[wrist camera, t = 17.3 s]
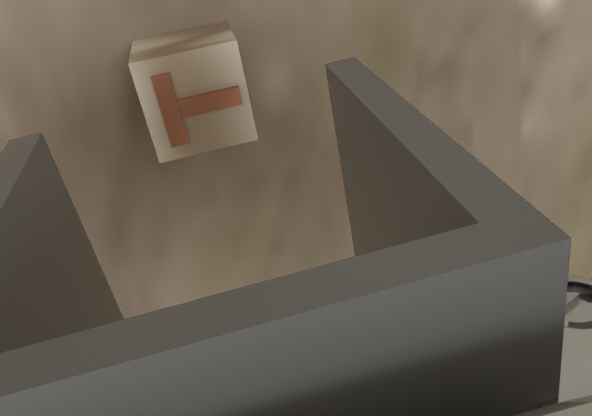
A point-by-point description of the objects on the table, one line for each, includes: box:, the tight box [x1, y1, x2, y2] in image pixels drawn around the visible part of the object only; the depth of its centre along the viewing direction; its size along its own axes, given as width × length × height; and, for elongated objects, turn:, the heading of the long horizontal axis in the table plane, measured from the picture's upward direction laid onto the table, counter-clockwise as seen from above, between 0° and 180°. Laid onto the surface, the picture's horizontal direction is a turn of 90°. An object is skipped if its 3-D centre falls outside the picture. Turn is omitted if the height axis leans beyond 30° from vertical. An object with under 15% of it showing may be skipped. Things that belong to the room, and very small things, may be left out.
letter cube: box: [128, 21, 258, 163], centre depth 23 cm, size 4×4×4 cm
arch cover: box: [0, 58, 571, 416], centre depth 10 cm, size 7×7×7 cm
